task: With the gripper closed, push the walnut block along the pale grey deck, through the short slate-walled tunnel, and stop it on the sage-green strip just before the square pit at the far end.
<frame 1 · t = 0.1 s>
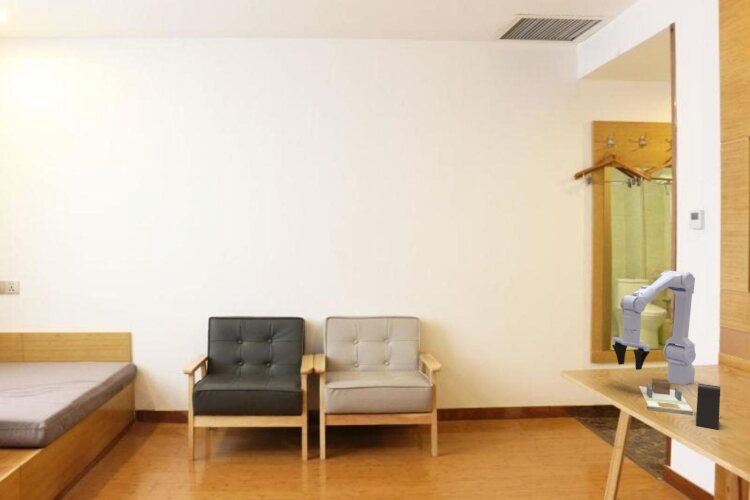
hand: (629, 366, 207), 10 cm above the table, tool pointing down, fingers open, 7 cm apart
phone stand: (706, 424, 179), on the table
deck: (662, 399, 202), on the table
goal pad: (665, 405, 195), on the table
block: (660, 391, 206), point 1 cm above the table, touching deck
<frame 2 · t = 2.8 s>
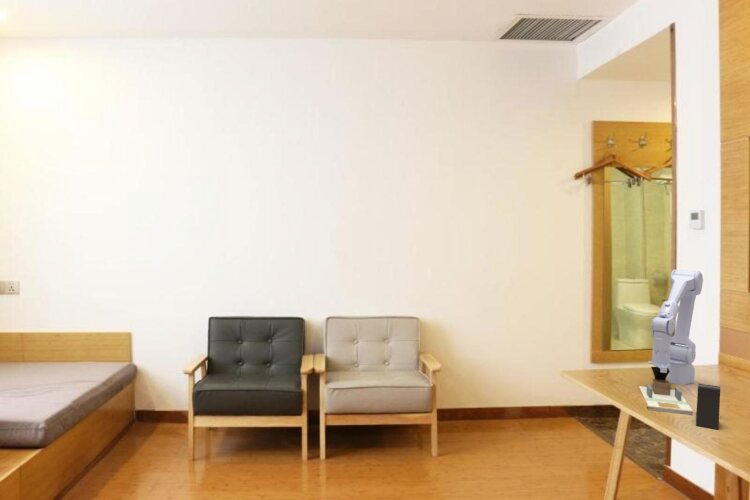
hand: (659, 387, 209), 2 cm above the table, tool pointing down, fingers closed
block: (661, 392, 205), point 2 cm above the table, touching gripper
everything else where it was.
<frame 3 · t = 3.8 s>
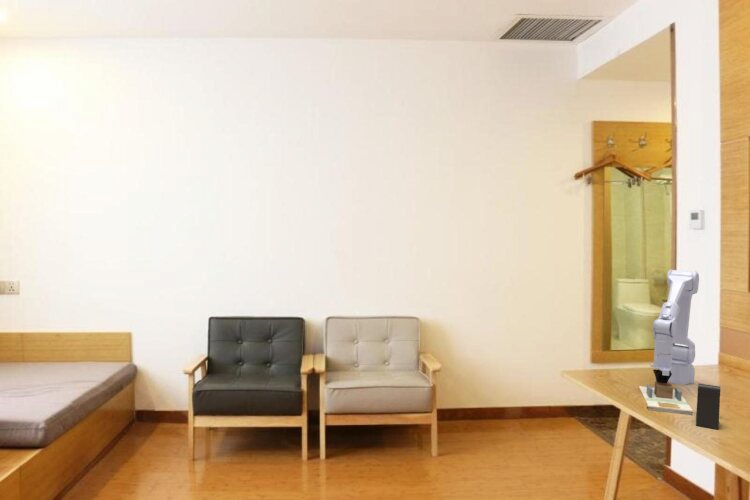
hand: (661, 390, 205), 2 cm above the table, tool pointing down, fingers closed
block: (663, 395, 201), point 2 cm above the table, touching gripper
everything else where it was.
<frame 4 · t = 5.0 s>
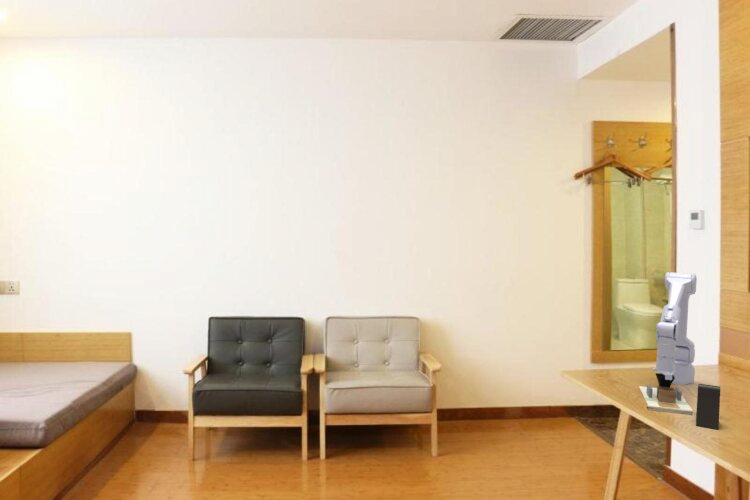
hand: (663, 395, 200), 2 cm above the table, tool pointing down, fingers closed
block: (666, 400, 196), point 1 cm above the table, touching deck, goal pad, gripper
everything else where it was.
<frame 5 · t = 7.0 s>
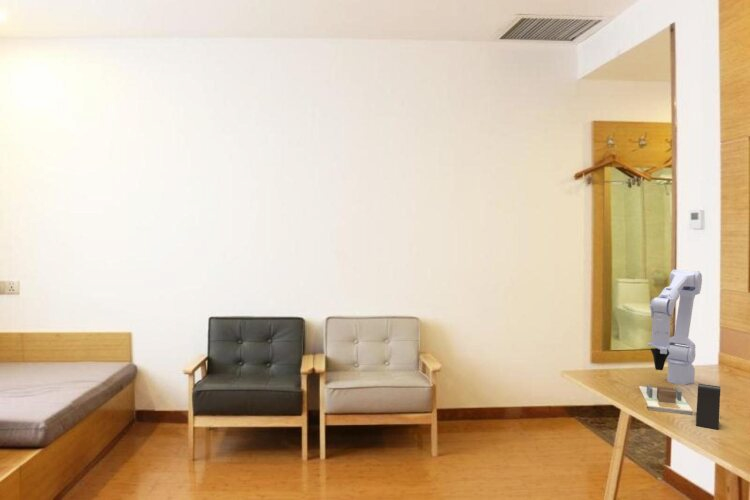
hand: (658, 369, 205), 10 cm above the table, tool pointing down, fingers closed
block: (666, 400, 196), point 1 cm above the table, touching deck, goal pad
everything else where it was.
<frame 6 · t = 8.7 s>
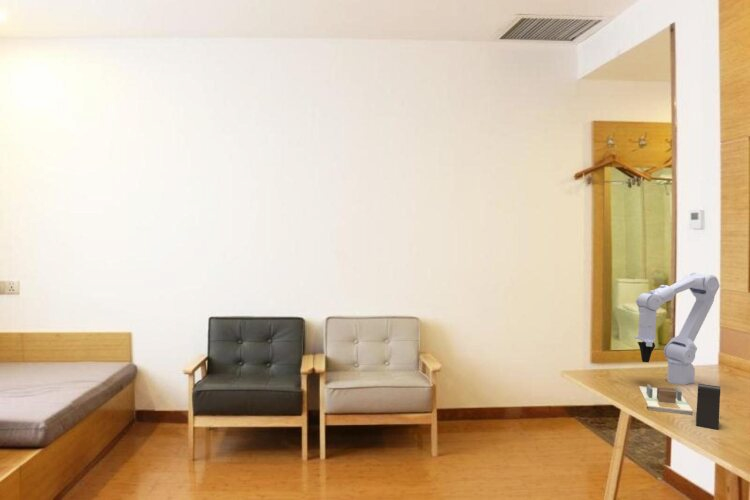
hand: (645, 361, 215), 10 cm above the table, tool pointing down, fingers closed
nothing on the table moved.
at the end: block 0.8 cm from the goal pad (horizontally); block point 1.5 cm above the table; block tilted 1° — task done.
